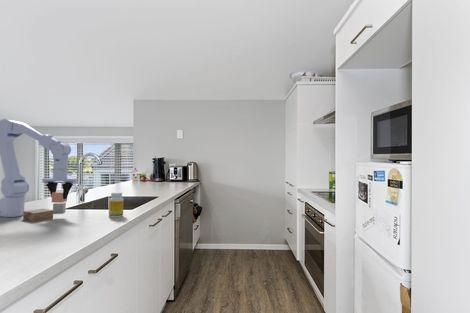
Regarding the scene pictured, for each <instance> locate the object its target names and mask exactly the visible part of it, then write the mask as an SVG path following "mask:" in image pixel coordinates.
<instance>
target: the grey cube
mask: <svg viewBox="0 0 470 313" xmlns="http://www.w3.org/2000/svg"><path fill="white" fill-rule="evenodd" d="M66 203H67V201H66V202H62V203H55V202H53V204H52V210H53V214H55V213H65V212H66Z"/></svg>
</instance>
